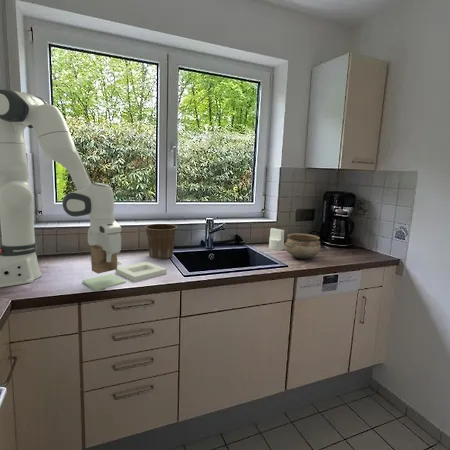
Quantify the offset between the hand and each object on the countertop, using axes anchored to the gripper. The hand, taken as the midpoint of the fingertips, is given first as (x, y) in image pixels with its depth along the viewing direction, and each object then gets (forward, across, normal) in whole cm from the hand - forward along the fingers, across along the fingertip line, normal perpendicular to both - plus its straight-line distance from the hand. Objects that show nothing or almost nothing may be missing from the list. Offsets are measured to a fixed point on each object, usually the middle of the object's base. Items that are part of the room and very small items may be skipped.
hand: (104, 259), depth 124 cm
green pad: (+10, 0, 0) cm, 10 cm away
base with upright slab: (+11, +11, +106) cm, 107 cm away
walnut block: (+4, 0, 0) cm, 4 cm away
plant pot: (+10, -18, +41) cm, 46 cm away
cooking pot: (+11, +33, +98) cm, 104 cm away
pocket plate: (+10, 0, +17) cm, 19 cm away
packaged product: (+10, -27, +14) cm, 33 cm away
